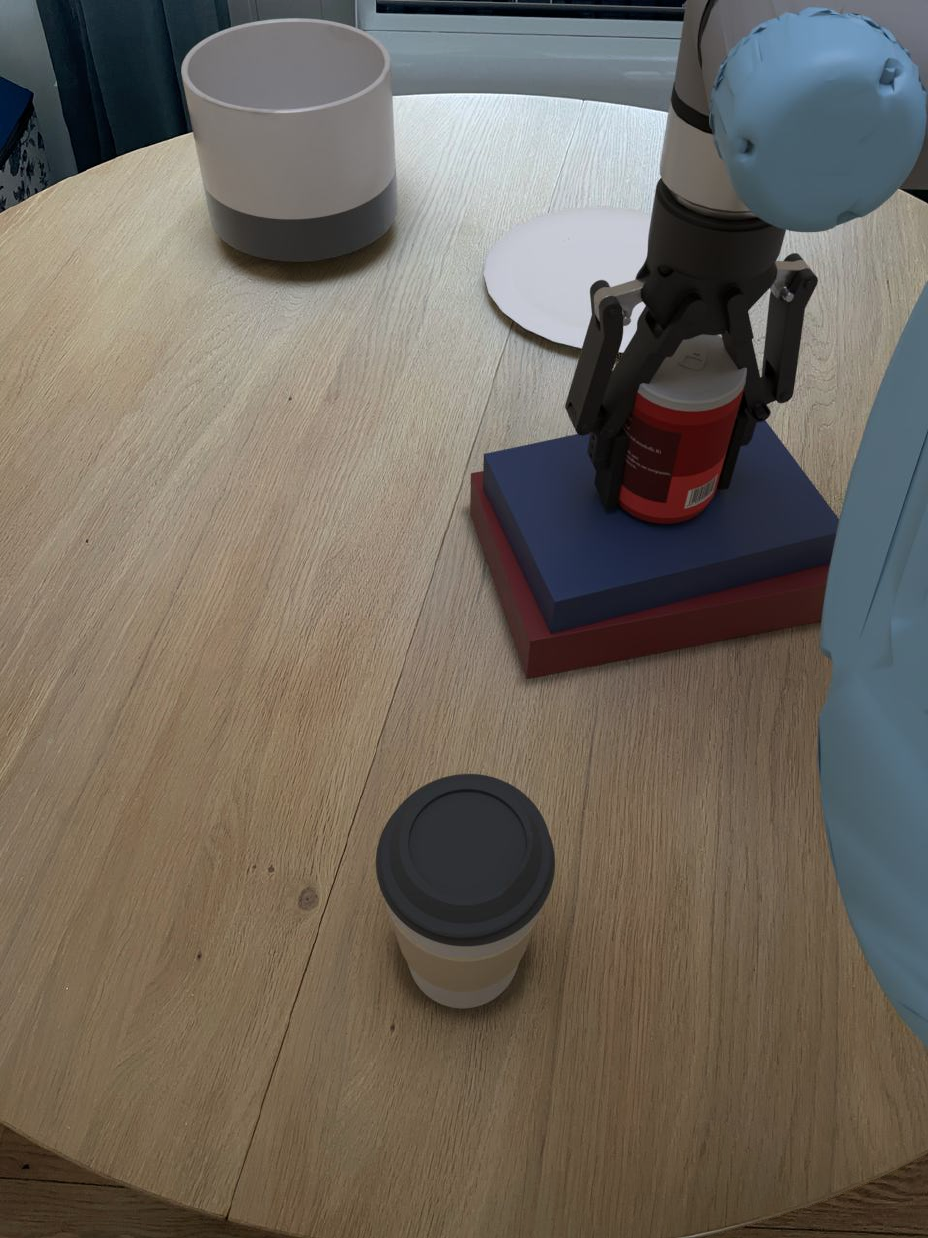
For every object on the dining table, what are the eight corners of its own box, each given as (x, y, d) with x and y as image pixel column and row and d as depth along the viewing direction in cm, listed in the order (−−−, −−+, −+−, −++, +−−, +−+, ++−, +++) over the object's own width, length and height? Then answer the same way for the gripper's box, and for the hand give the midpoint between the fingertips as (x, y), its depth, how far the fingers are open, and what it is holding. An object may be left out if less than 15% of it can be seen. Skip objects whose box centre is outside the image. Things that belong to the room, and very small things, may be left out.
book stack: (833, 618, 78) (866, 547, 72) (526, 679, 75) (533, 609, 68) (743, 466, 88) (765, 392, 82) (469, 512, 85) (471, 438, 79)
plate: (785, 314, 102) (789, 299, 101) (574, 397, 94) (576, 382, 93) (633, 196, 115) (635, 181, 114) (437, 260, 107) (437, 245, 106)
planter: (185, 219, 112) (147, 46, 98) (343, 170, 118) (329, 1, 104) (265, 310, 102) (235, 131, 88) (433, 251, 108) (430, 76, 94)
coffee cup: (360, 985, 61) (338, 877, 49) (429, 856, 66) (424, 730, 54) (501, 1055, 58) (513, 958, 47) (561, 916, 64) (586, 797, 52)
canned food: (718, 459, 77) (752, 334, 68) (709, 536, 72) (744, 412, 63) (615, 442, 78) (635, 317, 69) (599, 517, 73) (619, 393, 64)
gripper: (865, 131, 61) (772, 430, 79) (526, 171, 58) (509, 473, 75) (930, 197, 56) (816, 498, 74) (566, 245, 53) (538, 548, 71)
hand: (661, 485), depth 75 cm, fingers closed on canned food, 8 cm apart
